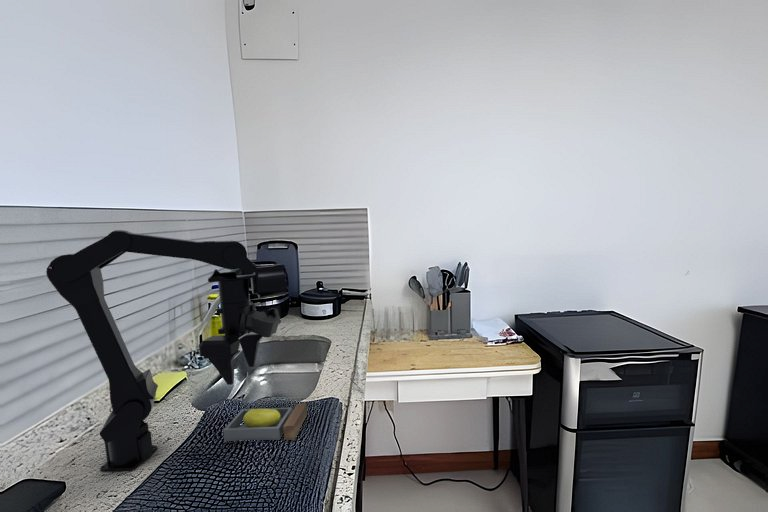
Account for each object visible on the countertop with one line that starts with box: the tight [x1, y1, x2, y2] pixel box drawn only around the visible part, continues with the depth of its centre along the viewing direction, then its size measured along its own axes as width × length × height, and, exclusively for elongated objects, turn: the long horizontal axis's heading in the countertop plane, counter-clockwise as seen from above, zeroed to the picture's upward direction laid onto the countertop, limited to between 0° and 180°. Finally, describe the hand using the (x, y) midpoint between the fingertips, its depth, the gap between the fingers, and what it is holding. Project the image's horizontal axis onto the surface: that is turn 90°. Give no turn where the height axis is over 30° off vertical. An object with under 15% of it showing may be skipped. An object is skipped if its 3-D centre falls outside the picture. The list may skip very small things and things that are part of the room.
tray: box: [223, 407, 294, 441], centre depth 75 cm, size 11×8×2 cm
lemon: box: [243, 407, 281, 427], centre depth 75 cm, size 4×8×4 cm, turn 79°
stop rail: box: [283, 402, 308, 441], centre depth 74 cm, size 2×9×3 cm, turn 177°
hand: (241, 375), depth 76 cm, fingers open, 9 cm apart
